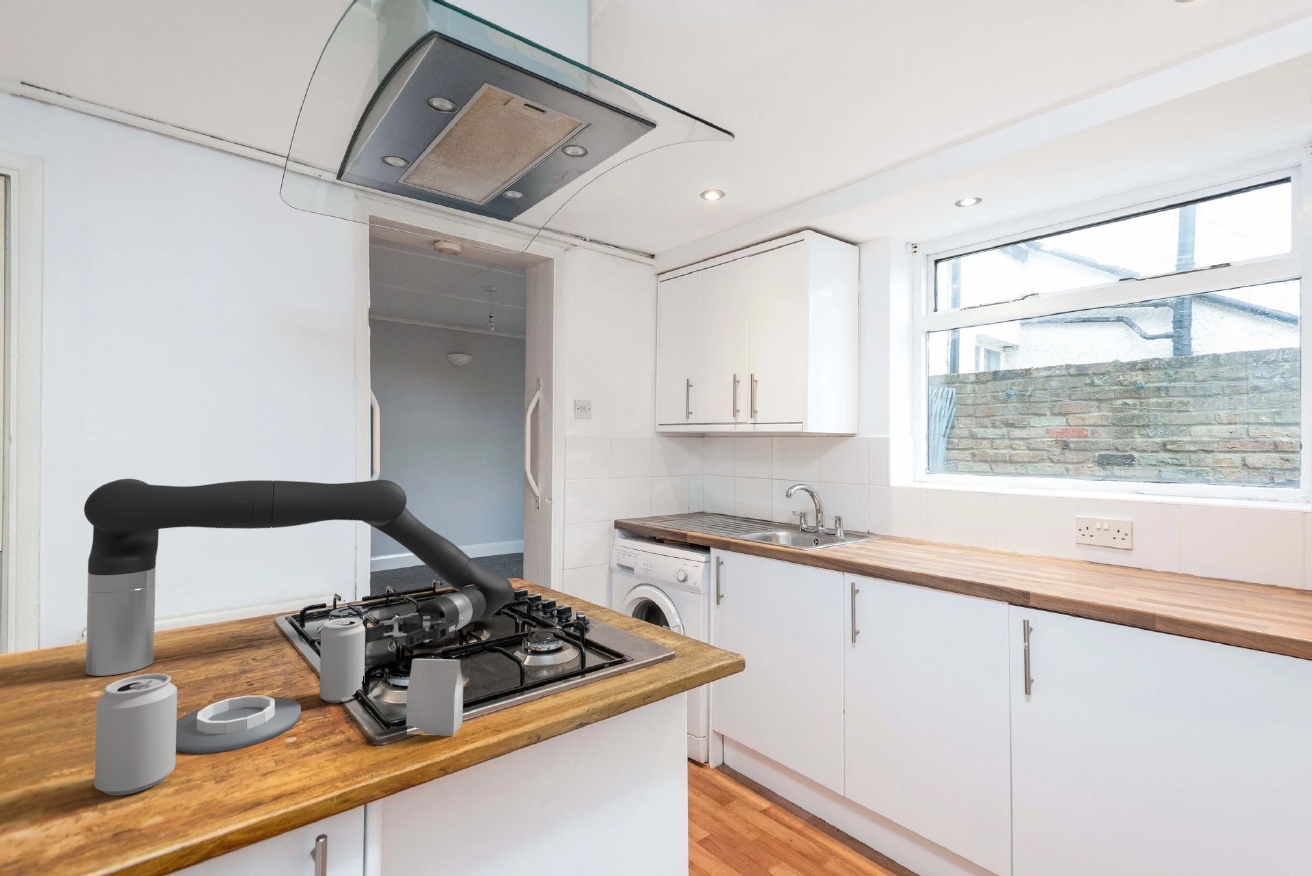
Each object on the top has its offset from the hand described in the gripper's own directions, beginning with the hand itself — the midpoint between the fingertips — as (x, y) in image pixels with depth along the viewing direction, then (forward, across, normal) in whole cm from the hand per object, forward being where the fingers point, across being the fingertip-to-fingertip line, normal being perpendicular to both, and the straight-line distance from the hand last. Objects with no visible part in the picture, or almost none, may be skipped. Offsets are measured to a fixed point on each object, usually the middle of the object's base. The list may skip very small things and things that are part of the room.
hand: (387, 638), depth 111 cm
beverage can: (+10, 0, +7) cm, 12 cm away
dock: (+23, -6, +6) cm, 25 cm away
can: (+38, -3, +7) cm, 39 cm away
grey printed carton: (+15, +21, +7) cm, 27 cm away
